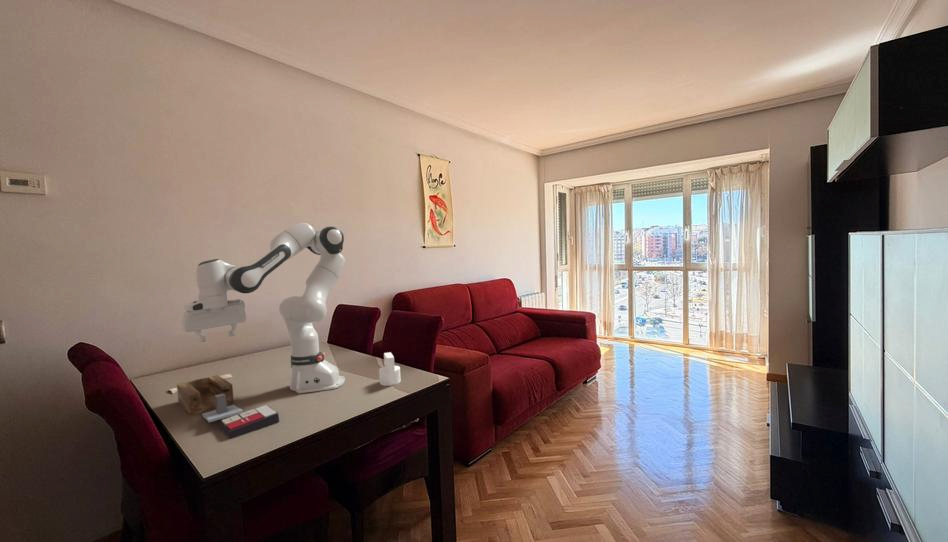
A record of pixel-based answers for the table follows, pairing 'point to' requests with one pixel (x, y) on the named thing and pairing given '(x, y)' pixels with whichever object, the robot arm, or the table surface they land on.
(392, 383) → the cylinder with rectangular tab
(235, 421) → the black red flat block
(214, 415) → the cover plate
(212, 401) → the walnut box
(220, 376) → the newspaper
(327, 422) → the table surface
